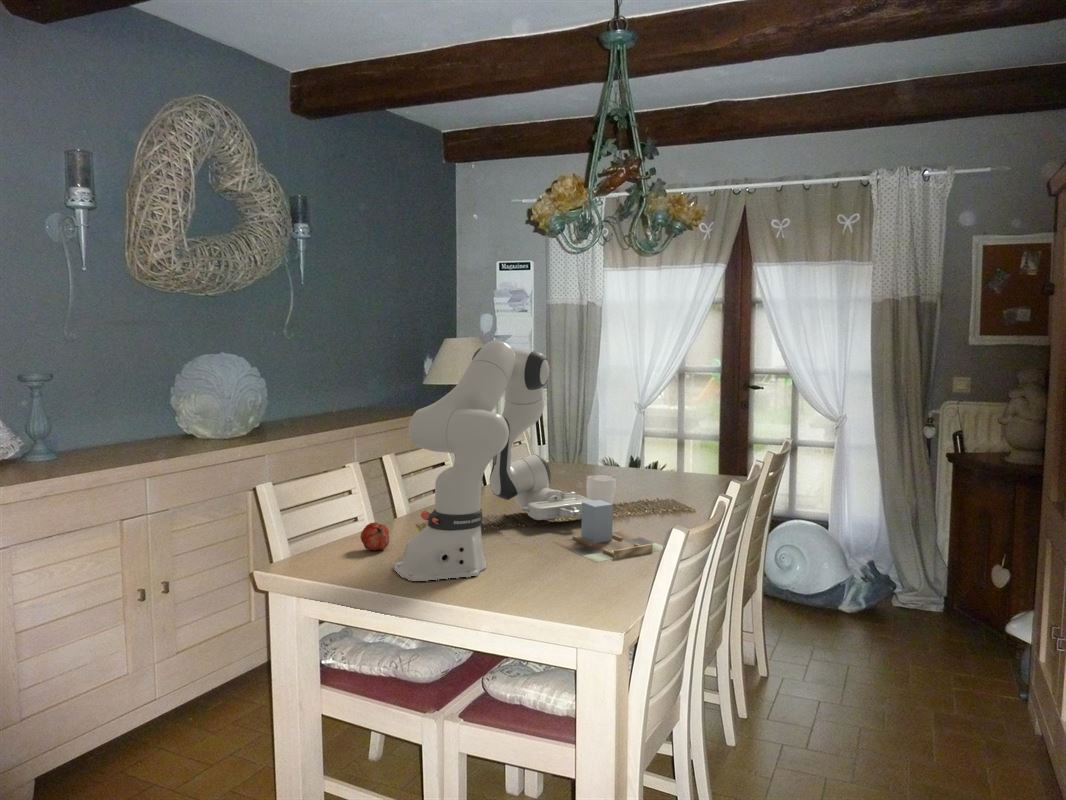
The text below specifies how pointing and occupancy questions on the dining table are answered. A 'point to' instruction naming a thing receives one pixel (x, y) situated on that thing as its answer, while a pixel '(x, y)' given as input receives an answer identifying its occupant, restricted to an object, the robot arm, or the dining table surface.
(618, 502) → the dining table surface
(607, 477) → the cup
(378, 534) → the pomegranate
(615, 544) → the tray with wooden handles
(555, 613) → the dining table surface
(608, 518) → the block
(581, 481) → the dining table surface
